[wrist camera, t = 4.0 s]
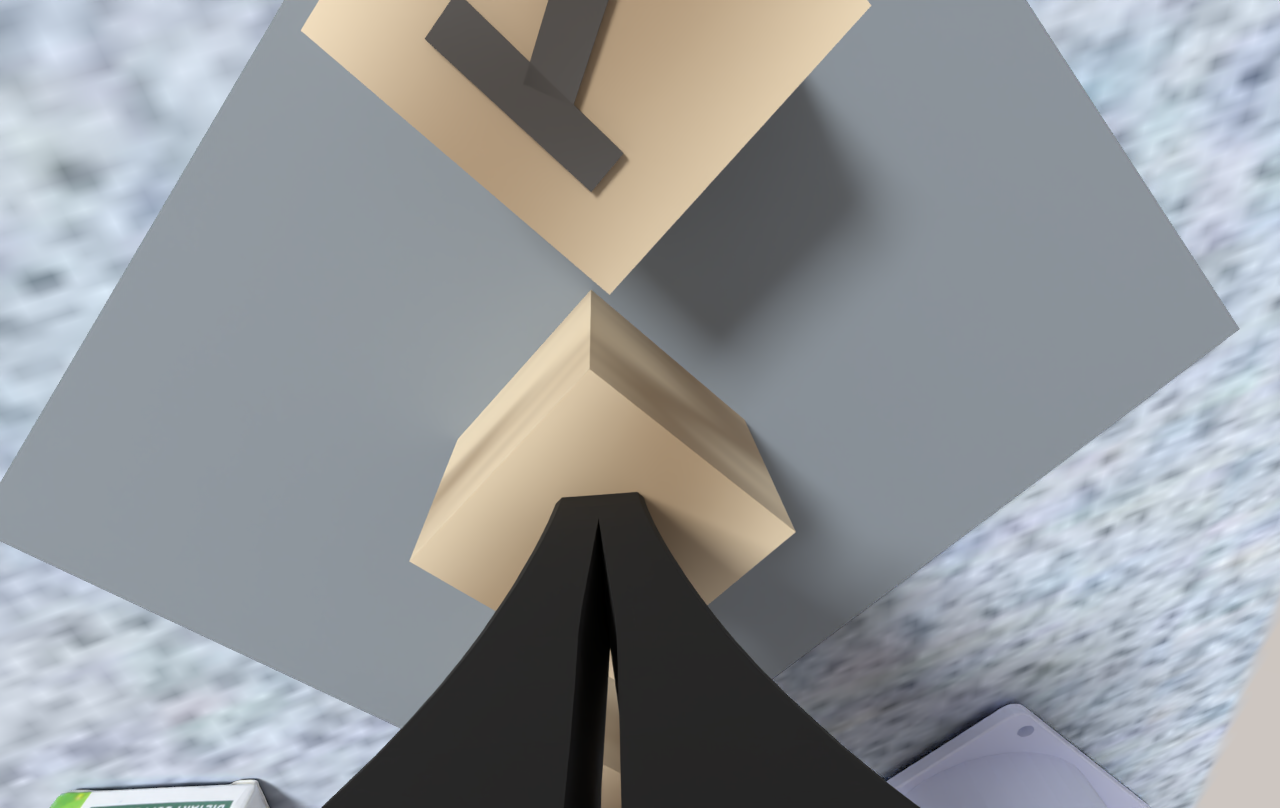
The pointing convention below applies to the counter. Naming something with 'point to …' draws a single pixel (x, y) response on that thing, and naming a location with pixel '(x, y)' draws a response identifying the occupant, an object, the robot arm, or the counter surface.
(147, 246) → the slate rubber mat
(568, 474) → the plain maple cube
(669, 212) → the maple cube marked 7
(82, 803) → the syrup box
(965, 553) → the counter surface
